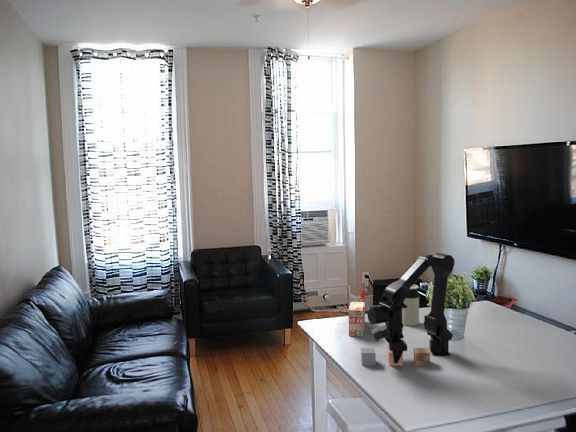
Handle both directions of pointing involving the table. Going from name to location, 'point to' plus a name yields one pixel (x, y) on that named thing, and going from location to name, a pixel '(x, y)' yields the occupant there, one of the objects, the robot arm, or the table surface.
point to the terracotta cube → (391, 359)
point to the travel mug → (411, 307)
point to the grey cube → (368, 357)
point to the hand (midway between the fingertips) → (394, 360)
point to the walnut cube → (421, 357)
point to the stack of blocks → (356, 319)
